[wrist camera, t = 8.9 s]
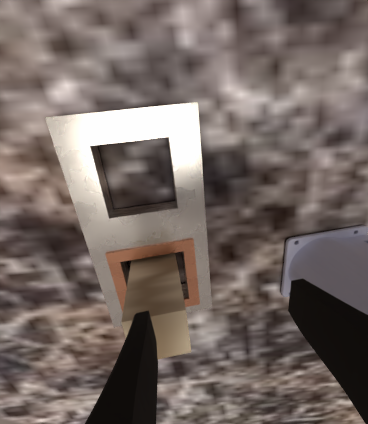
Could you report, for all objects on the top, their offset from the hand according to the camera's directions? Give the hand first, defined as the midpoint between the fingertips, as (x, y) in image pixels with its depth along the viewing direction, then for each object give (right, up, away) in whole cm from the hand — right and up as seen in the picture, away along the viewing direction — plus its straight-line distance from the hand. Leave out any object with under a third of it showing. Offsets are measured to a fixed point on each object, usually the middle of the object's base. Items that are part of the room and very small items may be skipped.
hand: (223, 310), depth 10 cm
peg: (-5, 0, +11) cm, 12 cm away
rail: (-5, +4, +9) cm, 11 cm away
